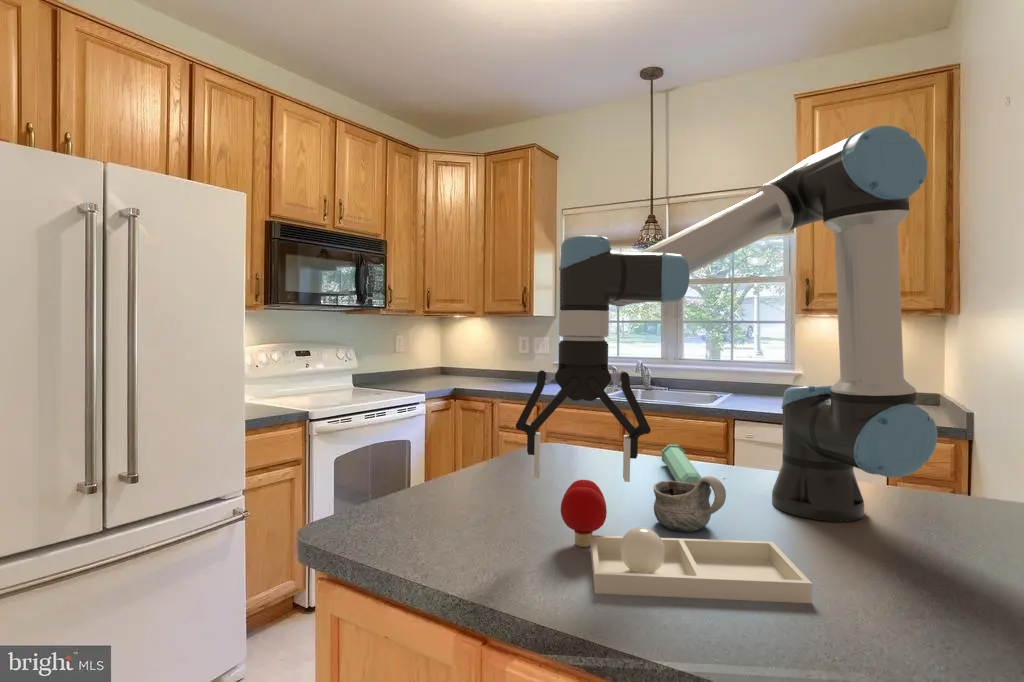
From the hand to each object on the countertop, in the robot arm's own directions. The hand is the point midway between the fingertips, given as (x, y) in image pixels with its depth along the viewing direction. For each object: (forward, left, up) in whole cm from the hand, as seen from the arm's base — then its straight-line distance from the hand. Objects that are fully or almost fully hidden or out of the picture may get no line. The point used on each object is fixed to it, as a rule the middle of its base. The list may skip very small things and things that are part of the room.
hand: (581, 477), depth 84 cm
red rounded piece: (0, 0, -11) cm, 11 cm away
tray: (-14, +9, -11) cm, 20 cm away
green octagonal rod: (-23, -41, -11) cm, 49 cm away
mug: (-18, -9, -11) cm, 23 cm away
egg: (-8, +9, -10) cm, 16 cm away
